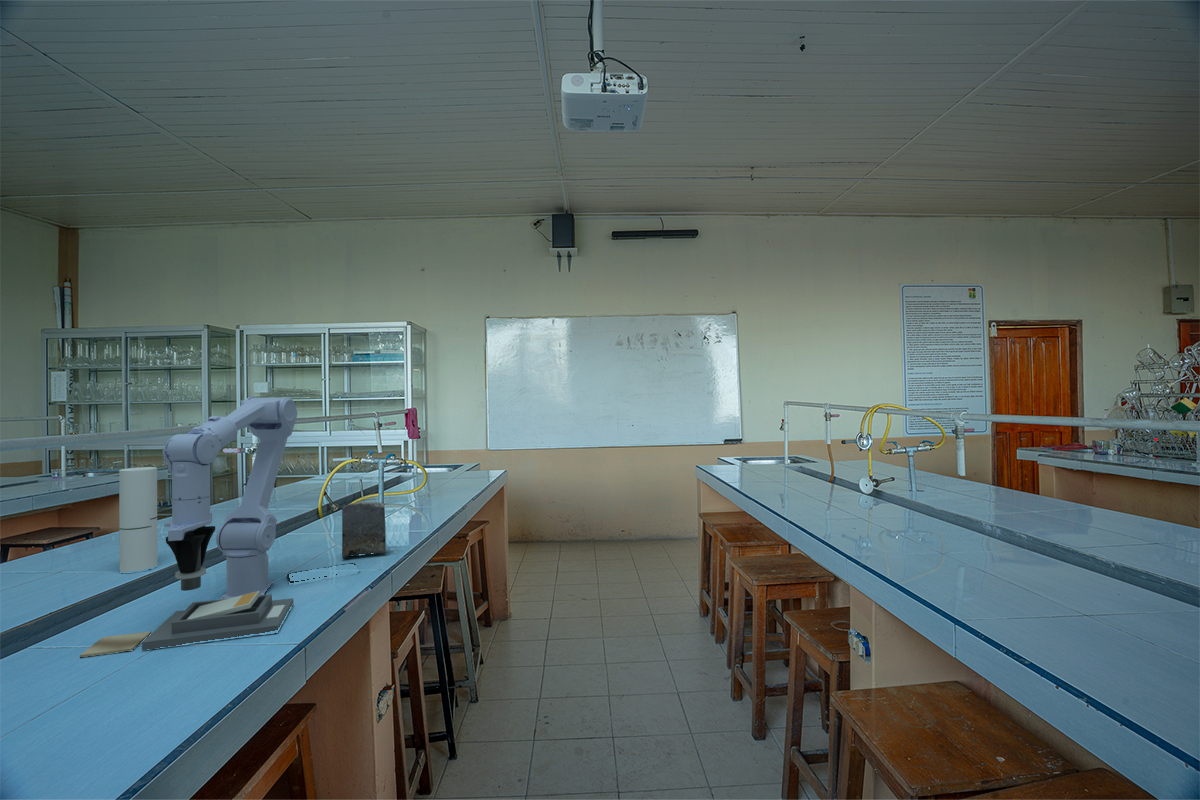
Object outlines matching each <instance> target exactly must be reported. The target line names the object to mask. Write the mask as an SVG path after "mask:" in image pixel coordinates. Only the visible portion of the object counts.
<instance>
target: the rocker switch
mask: <svg viewBox="0 0 1200 800" xmlns="http://www.w3.org/2000/svg"><path fill="white" fill-rule="evenodd" d="M259 596H260V591H257V592H253V593H249V594H245V595H241V596H237V597H233V598H229V599H226V600H222V601H218V602H214V603H210V604H206V605H202V606H199V607H198V608H197V609H196V610H195V611H194V612H193V613H192V614H191V615H190V616H189V617H188V618H187V619H195V618H204V617H212V616H221V615H226V614H229V613H233V612H237V611H241V610H244V609H248V608H251V606H252V605H253V604H254V603H255V601H256V600H257V599H258V597H259Z"/></svg>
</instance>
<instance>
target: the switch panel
mask: <svg viewBox="0 0 1200 800" xmlns="http://www.w3.org/2000/svg"><path fill="white" fill-rule="evenodd" d="M222 600H226V599H221V600H220V599H213V600H204V601H193V602H192V603H191V604H190V605H189V606H187V608H185V609H184V610H176V611H174V612H173V613H172V614H171V615H170V616H169V617H168V618H167V619H166V620H165V621H163V622H162V623H161V625H159V626H157V628H156V629H155V630H153V632H151V635H150V636H148V637H147V638H146V639H145V640H144V641H143V642H142V643H141V651H142V650H147V649H155V648H160V647H168V646H176V645H182V644H186V643H193V642H200V641H208V640H215V639H224V638H231V637H237V636H238V637H239V636H244V635H250V634H259V633H265V632H270V631H275V630H278V628H279V627H280V625H281V623H282V621H283V620H284V618H285V616H286V614H287V612H288V611H289V609H290V607H291V606H292V604H293V605H294V597H292V598H283V599H274V600H273V594H272V593H269V594H264V595H260V596H259V597H258V599H257V600H256V601H255V603H254V604H253V605H252V606H251V608H248V609H244V610H241V611H237V612H233V613H229V614H226V615H221V616H212V617H204V618H195V619H187V618H188V617H189V616H190V615H191V614H192V613H193V612H194V611H195V610H196V609H197V608H198V607H199V606H202V605H206V604H210V603H214V602H218V601H222Z"/></svg>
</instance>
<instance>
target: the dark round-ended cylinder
mask: <svg viewBox="0 0 1200 800" xmlns="http://www.w3.org/2000/svg"><path fill="white" fill-rule="evenodd" d="M174 574H175V576H174V577H175V579H177V580H180V590H181V591H183V592H184V591H185V592H186V591H187V592H188V591H193V590H197V589H200V588H201V586H202V576H204V575H207V567H204V566H201V546H200V549H199V553H198V560H197V566H196V570H195V572H193V573H180V570H177V571H175V573H174Z"/></svg>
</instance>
